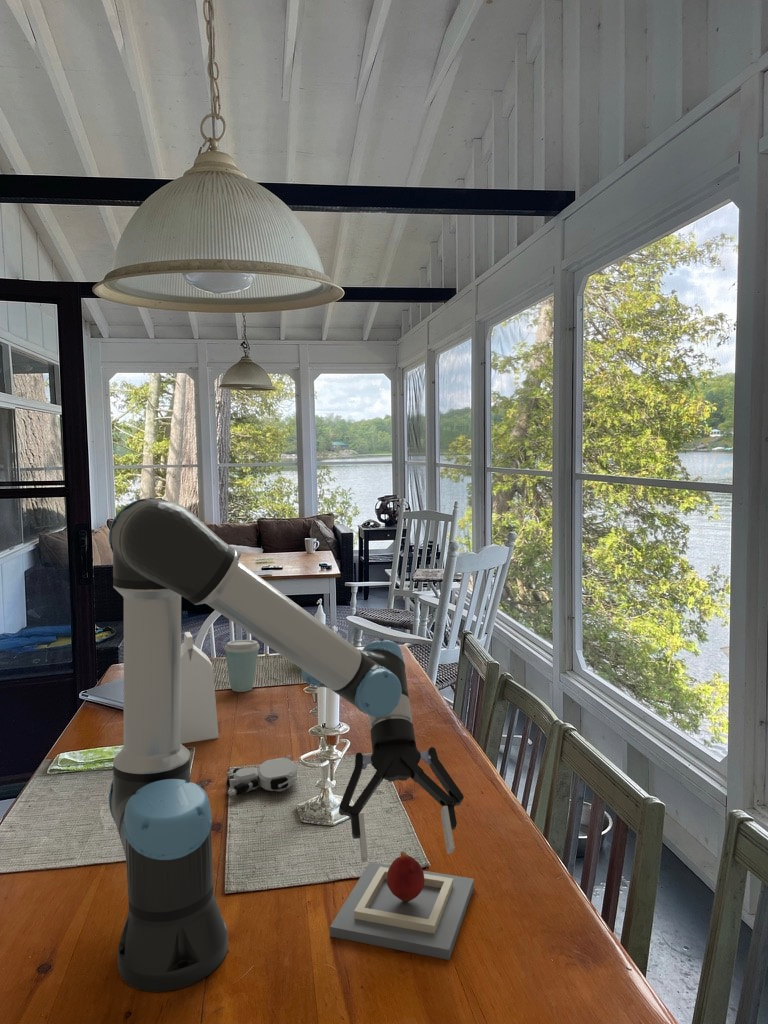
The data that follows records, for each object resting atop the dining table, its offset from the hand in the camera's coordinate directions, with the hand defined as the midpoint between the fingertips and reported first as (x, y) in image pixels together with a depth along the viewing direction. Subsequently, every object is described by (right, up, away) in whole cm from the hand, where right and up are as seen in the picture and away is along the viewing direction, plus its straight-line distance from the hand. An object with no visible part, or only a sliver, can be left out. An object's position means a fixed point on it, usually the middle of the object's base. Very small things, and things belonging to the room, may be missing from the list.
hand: (408, 855), depth 114 cm
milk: (-53, -4, +76) cm, 93 cm away
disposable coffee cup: (-47, -1, +112) cm, 122 cm away
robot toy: (-30, -6, +44) cm, 54 cm away
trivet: (0, -9, 0) cm, 9 cm away
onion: (0, -7, 0) cm, 7 cm away
